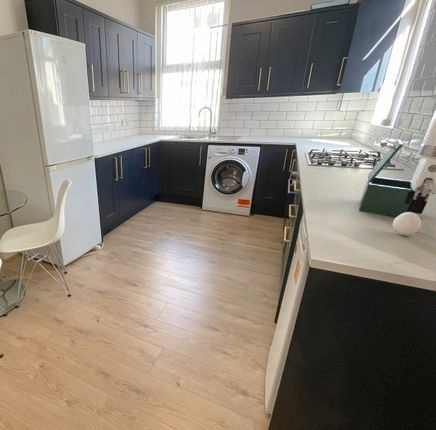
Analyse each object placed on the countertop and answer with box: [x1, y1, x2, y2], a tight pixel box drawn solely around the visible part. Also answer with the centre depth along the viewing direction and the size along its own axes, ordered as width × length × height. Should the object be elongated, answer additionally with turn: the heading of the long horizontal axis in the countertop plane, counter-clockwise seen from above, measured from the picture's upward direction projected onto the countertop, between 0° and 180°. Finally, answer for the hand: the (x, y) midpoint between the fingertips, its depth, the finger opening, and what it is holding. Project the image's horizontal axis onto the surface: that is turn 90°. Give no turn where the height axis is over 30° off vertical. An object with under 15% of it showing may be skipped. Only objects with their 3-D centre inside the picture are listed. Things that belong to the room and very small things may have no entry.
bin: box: [358, 176, 412, 218], centre depth 108 cm, size 15×16×11 cm
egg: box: [392, 212, 422, 236], centre depth 88 cm, size 6×6×8 cm
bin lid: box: [367, 139, 404, 183], centre depth 107 cm, size 15×16×5 cm
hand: (412, 208), depth 86 cm, fingers open, 9 cm apart
